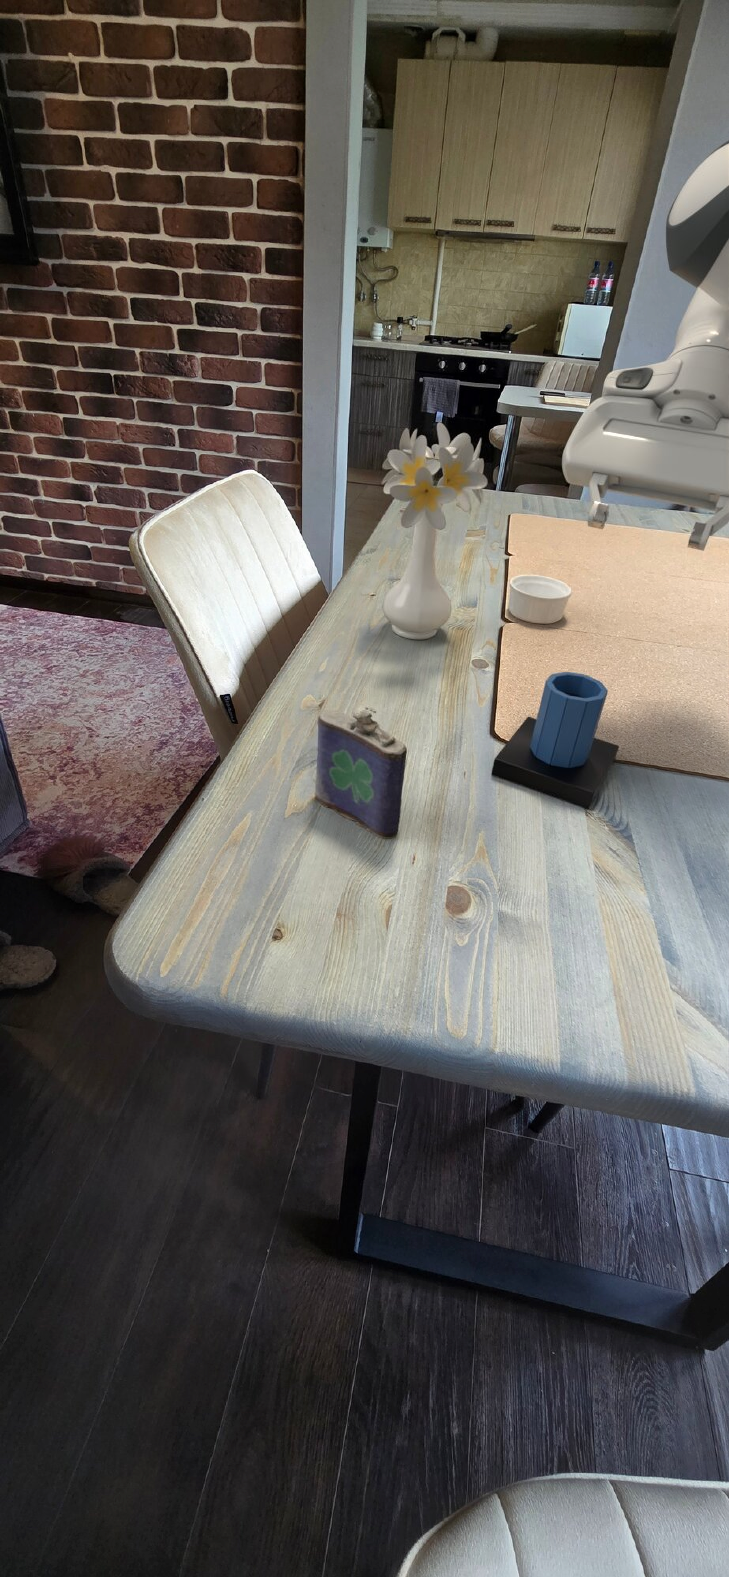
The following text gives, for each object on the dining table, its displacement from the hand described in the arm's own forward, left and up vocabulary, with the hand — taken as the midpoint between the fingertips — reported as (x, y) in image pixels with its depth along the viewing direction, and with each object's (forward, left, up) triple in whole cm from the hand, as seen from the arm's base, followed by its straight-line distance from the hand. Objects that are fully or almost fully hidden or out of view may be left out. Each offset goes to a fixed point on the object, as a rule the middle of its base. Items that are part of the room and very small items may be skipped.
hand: (644, 535), depth 69 cm
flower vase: (+27, -12, -22) cm, 36 cm away
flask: (+14, +27, -22) cm, 38 cm away
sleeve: (+1, +9, -20) cm, 22 cm away
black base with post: (+1, +9, -22) cm, 24 cm away
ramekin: (+16, -29, -22) cm, 39 cm away
